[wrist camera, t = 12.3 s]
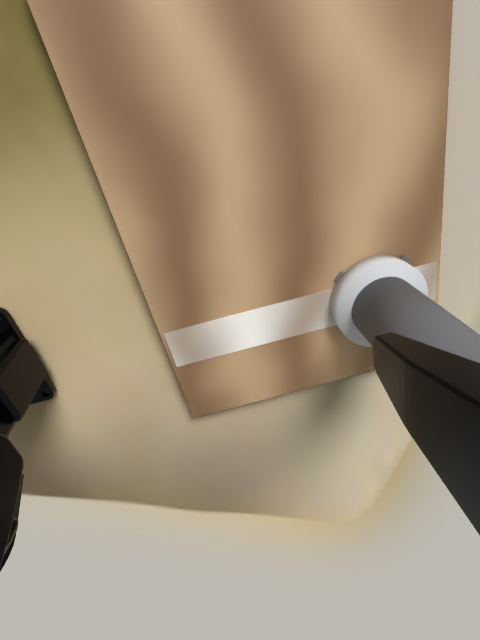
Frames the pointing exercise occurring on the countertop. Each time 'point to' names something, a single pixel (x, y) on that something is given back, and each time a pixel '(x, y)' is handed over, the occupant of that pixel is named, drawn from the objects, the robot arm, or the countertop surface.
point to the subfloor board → (259, 167)
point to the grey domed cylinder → (396, 307)
